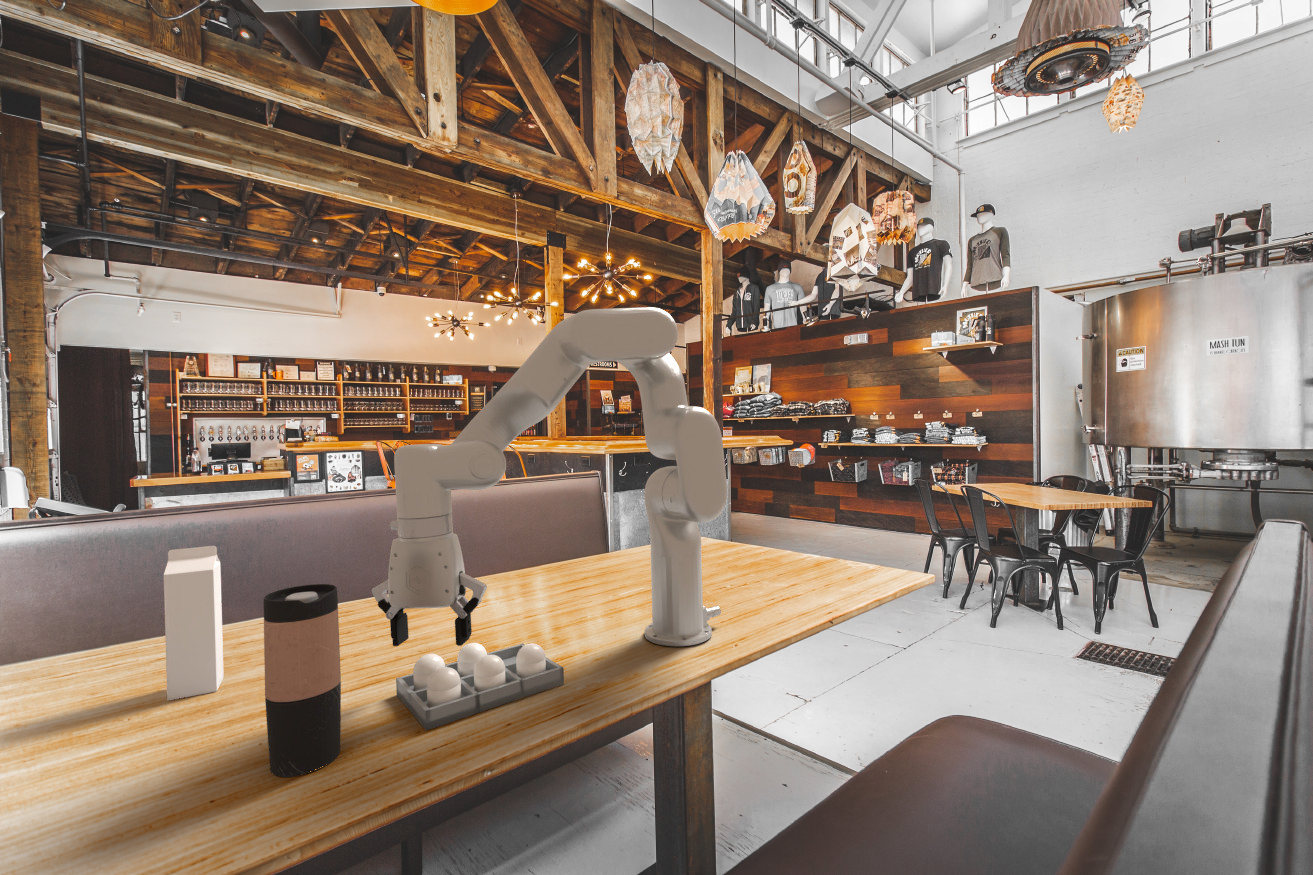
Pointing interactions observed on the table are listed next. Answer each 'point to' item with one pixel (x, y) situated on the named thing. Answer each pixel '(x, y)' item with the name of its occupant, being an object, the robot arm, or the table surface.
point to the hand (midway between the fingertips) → (431, 642)
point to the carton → (479, 683)
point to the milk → (193, 622)
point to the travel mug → (302, 678)
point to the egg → (426, 669)
